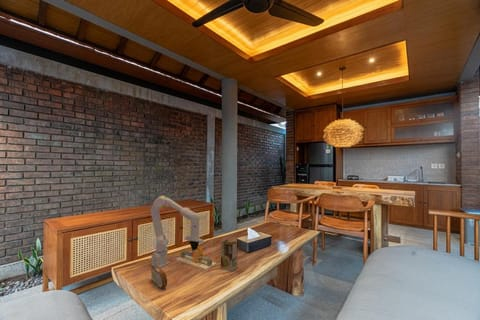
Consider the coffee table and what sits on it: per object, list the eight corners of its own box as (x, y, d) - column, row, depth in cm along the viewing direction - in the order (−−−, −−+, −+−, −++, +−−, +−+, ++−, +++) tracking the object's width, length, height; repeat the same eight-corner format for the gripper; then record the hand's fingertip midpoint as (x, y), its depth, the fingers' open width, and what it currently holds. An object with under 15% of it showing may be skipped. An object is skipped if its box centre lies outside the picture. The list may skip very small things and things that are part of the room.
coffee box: (237, 267, 141) (238, 242, 141) (232, 271, 135) (232, 245, 136) (225, 264, 146) (226, 239, 146) (220, 267, 140) (220, 242, 141)
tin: (167, 289, 115) (167, 273, 115) (161, 291, 113) (162, 275, 113) (155, 278, 126) (156, 263, 126) (150, 280, 124) (150, 265, 124)
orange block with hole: (202, 259, 148) (202, 249, 148) (197, 262, 143) (197, 251, 144) (198, 258, 150) (198, 248, 150) (193, 260, 146) (193, 250, 146)
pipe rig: (216, 264, 145) (216, 256, 145) (206, 270, 136) (206, 261, 136) (186, 255, 159) (186, 247, 159) (175, 260, 150) (176, 252, 151)
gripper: (206, 232, 148) (206, 252, 148) (191, 228, 156) (190, 248, 156) (199, 234, 142) (199, 256, 142) (183, 231, 150) (183, 251, 150)
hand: (194, 252), depth 148 cm, fingers closed
